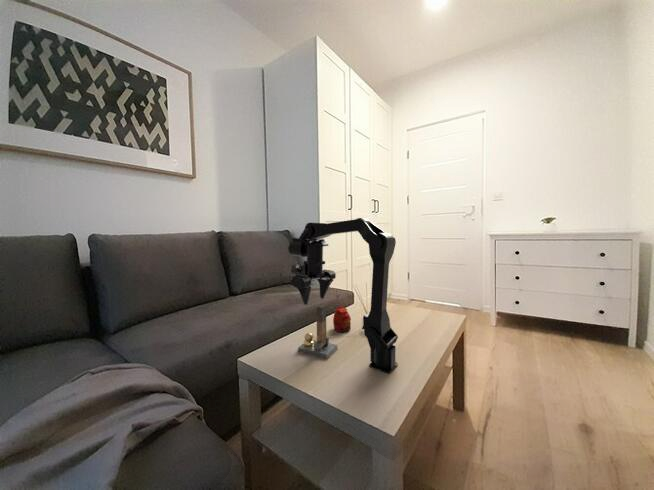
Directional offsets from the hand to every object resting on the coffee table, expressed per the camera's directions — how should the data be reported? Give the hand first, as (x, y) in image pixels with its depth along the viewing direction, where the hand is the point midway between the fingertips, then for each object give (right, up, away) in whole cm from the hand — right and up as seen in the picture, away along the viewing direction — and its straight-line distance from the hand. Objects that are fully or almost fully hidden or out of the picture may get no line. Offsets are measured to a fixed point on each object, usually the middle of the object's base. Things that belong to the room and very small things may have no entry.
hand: (314, 301), depth 90 cm
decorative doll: (+11, -15, +14) cm, 23 cm away
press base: (+2, -16, -5) cm, 16 cm away
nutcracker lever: (+3, -13, -6) cm, 15 cm away
